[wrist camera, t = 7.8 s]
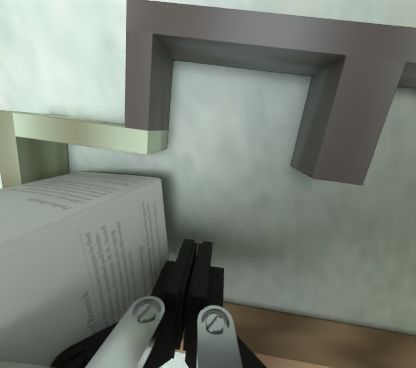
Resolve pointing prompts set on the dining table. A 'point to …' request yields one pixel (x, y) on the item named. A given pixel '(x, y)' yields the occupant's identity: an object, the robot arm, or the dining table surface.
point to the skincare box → (75, 258)
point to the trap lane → (304, 149)
